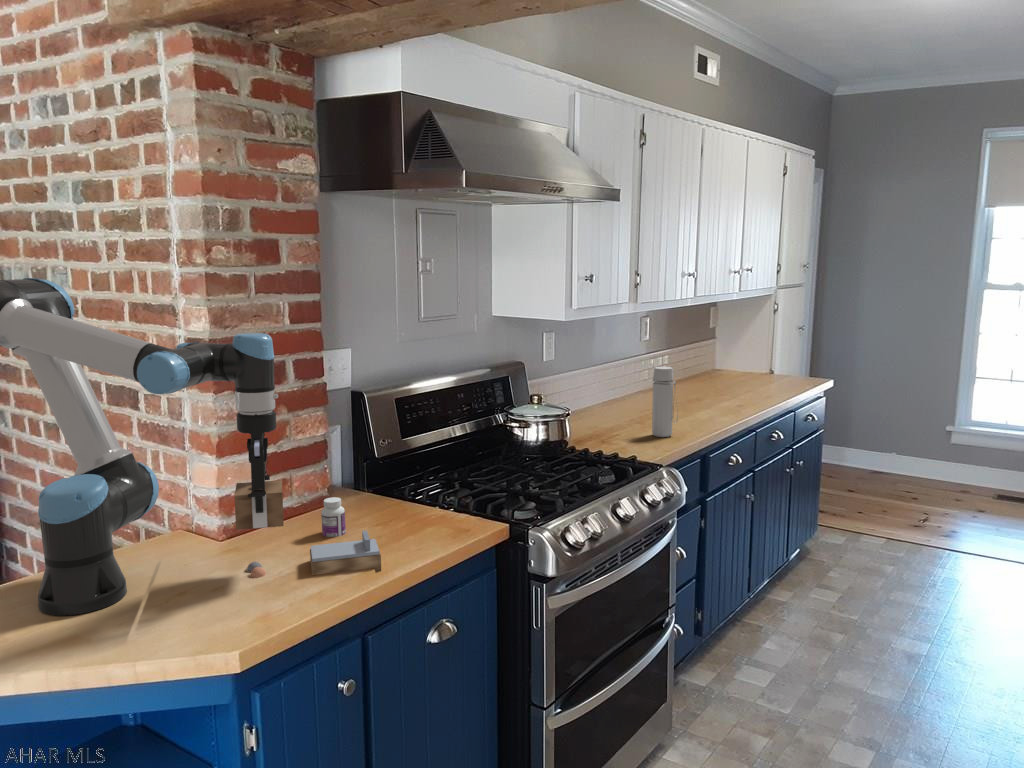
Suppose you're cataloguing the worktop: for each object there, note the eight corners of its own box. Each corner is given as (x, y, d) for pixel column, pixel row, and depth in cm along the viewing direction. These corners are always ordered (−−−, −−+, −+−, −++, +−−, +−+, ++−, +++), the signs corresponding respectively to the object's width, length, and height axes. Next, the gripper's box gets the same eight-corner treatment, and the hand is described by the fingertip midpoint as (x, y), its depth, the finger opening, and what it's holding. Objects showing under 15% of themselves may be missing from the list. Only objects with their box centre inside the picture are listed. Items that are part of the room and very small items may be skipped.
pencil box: (312, 581, 161) (311, 562, 160) (310, 567, 169) (309, 549, 168) (381, 573, 165) (380, 555, 164) (376, 559, 172) (376, 542, 172)
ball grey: (264, 568, 163) (256, 581, 163) (266, 564, 166) (258, 576, 166) (251, 561, 162) (243, 574, 162) (253, 557, 165) (245, 569, 165)
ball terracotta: (250, 585, 160) (249, 571, 159) (251, 579, 162) (250, 565, 162) (266, 583, 160) (265, 569, 160) (266, 577, 163) (265, 563, 163)
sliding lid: (312, 562, 161) (311, 547, 160) (310, 548, 168) (310, 534, 167) (379, 554, 164) (379, 540, 164) (375, 541, 172) (374, 528, 171)
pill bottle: (336, 533, 189) (334, 494, 188) (350, 538, 186) (348, 498, 184) (317, 540, 185) (315, 500, 184) (332, 544, 182) (330, 504, 180)
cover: (236, 530, 156) (234, 490, 155) (238, 515, 164) (236, 478, 163) (283, 526, 158) (282, 487, 157) (283, 512, 167) (281, 475, 166)
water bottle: (651, 437, 286) (653, 369, 282) (651, 433, 293) (652, 366, 289) (677, 438, 284) (679, 369, 280) (677, 433, 292) (678, 366, 288)
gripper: (275, 421, 149) (280, 535, 152) (275, 400, 169) (279, 502, 173) (233, 423, 146) (238, 539, 150) (238, 402, 167) (243, 504, 171)
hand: (260, 519), depth 161 cm, fingers closed on cover, 9 cm apart
